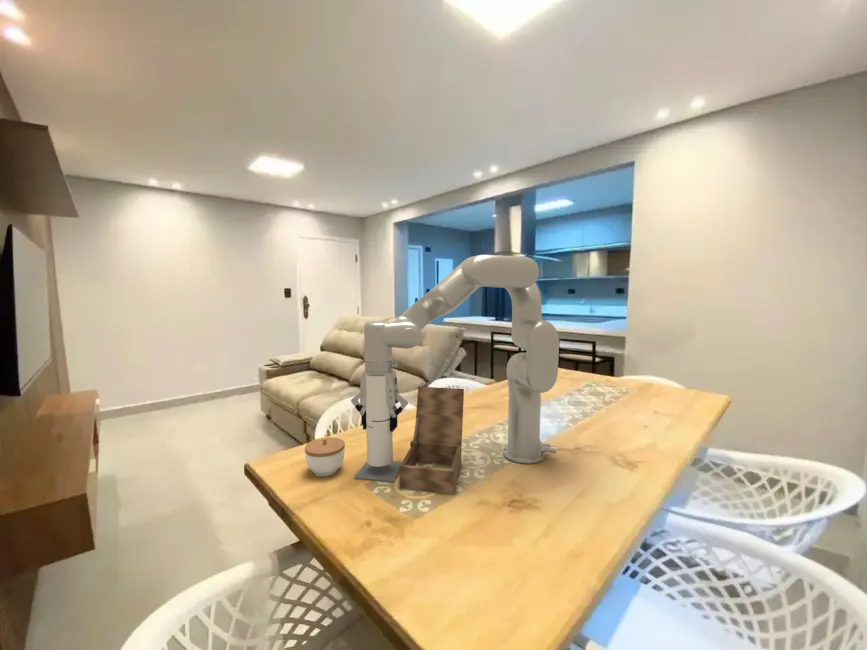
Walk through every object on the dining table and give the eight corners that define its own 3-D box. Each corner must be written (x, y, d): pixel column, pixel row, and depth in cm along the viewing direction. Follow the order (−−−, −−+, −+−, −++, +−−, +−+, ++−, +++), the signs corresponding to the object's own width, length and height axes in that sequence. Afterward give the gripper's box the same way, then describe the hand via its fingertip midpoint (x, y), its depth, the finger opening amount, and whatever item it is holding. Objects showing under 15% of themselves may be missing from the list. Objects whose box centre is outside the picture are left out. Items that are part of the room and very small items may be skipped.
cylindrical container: (388, 467, 100) (386, 376, 98) (363, 465, 102) (361, 375, 99) (396, 456, 107) (395, 370, 105) (372, 453, 109) (371, 369, 106)
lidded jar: (304, 466, 107) (303, 435, 106) (341, 459, 112) (341, 429, 111) (307, 484, 98) (306, 450, 97) (348, 476, 102) (347, 443, 101)
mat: (404, 463, 109) (404, 462, 109) (393, 482, 98) (393, 481, 98) (368, 460, 111) (368, 459, 111) (354, 478, 100) (354, 477, 100)
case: (463, 455, 114) (464, 388, 112) (453, 494, 93) (454, 412, 91) (418, 451, 117) (417, 385, 115) (398, 488, 95) (397, 408, 93)
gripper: (412, 364, 104) (413, 426, 105) (354, 362, 107) (355, 422, 109) (405, 370, 96) (406, 436, 98) (343, 367, 100) (344, 431, 101)
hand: (379, 428), depth 103 cm, fingers closed on cylindrical container, 7 cm apart
